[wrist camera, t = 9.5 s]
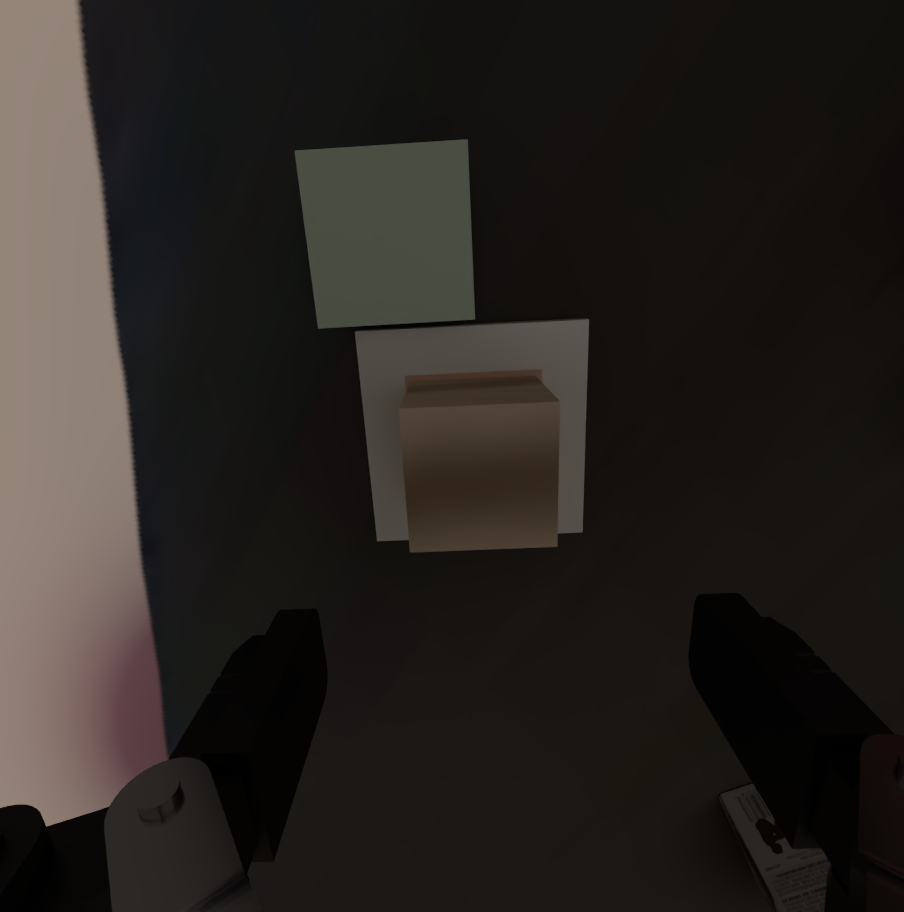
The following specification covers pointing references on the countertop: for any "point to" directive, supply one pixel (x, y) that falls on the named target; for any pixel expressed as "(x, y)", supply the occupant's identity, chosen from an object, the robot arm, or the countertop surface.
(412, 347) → the plate
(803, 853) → the coffee box
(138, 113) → the countertop surface
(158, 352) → the countertop surface
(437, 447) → the beech block
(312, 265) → the green block
